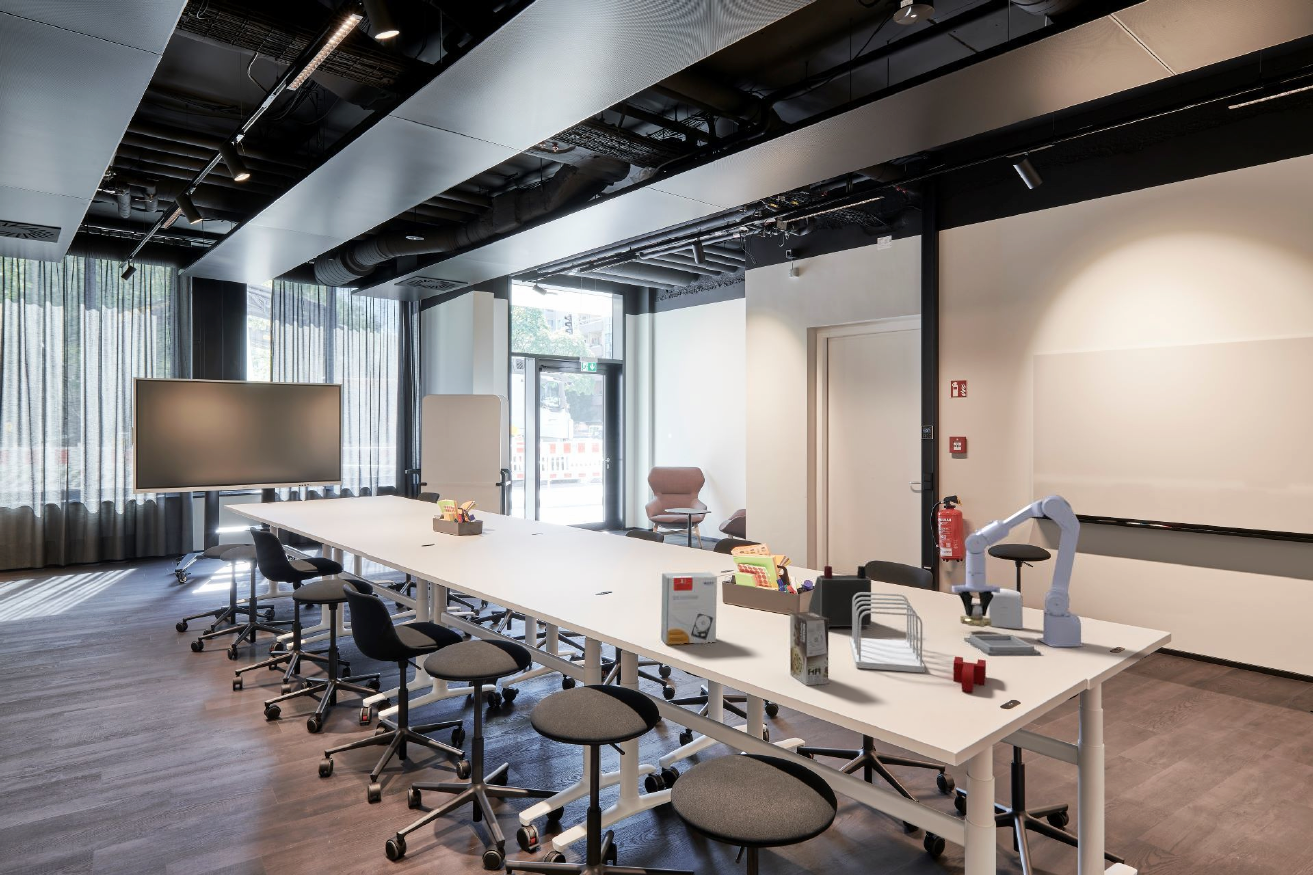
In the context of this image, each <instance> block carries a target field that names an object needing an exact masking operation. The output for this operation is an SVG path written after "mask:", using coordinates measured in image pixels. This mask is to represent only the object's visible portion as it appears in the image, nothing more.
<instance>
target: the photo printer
mask: <svg viewBox="0 0 1313 875" xmlns="http://www.w3.org/2000/svg"><path fill="white" fill-rule="evenodd" d="M992 594H993V598H992V600H991V602H990V604H989V606H988V608H987V618H990V619H991V626H990V627H992V626H994V627H993V628H1003V629H1004V628H1005V629H1016V630H1022V629H1023V628H1024V626H1023V625H1024V620H1023V613H1024V612H1023V609H1024V608H1023V606H1024V605H1023V596H1022V594H1021V592H1019V591H1018V590H1015V589H1009V588H1000V593H996V592H992Z"/></svg>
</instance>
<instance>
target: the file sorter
mask: <svg viewBox="0 0 1313 875" xmlns="http://www.w3.org/2000/svg"><path fill="white" fill-rule="evenodd" d="M861 594H864V595H871V596H885V597H871V598H869V597H861V598H858V599H856V600H855V598H856V596H858V595H861ZM886 596H889V597H886ZM891 596H892V597H891ZM893 597H901V598H893ZM854 600H855V602H854ZM859 600H871V602H868V601H864V602H860V603H858V604H857V605H856V607H855V604H856V603H857V601H859ZM861 604H871V606H864V607H861V608H860V609H859V610H858V611H857V607H858V606H859V605H861ZM872 605H875V606H872ZM877 605H879V606H877ZM880 605H881V606H880ZM882 605H883V606H882ZM884 605H885V606H884ZM886 605H896V606H886ZM897 605H898V606H897ZM899 605H901V606H899ZM862 609H871V611H866V612H864V613H862V614H861V616H860V619H859V626H858V615H859V612H860V611H861V610H862ZM872 609H873V610H872ZM874 609H875V610H874ZM879 609H881V610H906V612H897V611H879ZM877 610H878V611H877ZM868 613H871V614H875V615H876V614H879V615H891V616H892V615H893V616H895V615H896V616H897V615H898V616H906V640H899V639H898V640H897V639H884V638H883V639H882V638H879V639H878V638H869V637H868V638H865V637H862V629H861V619H862V617H863V616H864V615H865V614H868ZM918 621H919V624H918ZM918 625H919V626H918ZM851 627H852V628H851V629H852V630H851V636H850V637H849V645H850V649H851V654H852V657H853V660H854V664H855V668H857V669H868V670H871V669H872V670H885V671H897V672H898V671H899V672H908V673H909V672H911V673H923V674H924V673H926V665H925V664H924V662H923V621H922V618H921V617H920V616H919V615H918V614H917V612H916V610H914V608H913V606H912V605H911V603H910V602H909V599H908V598H907V597H906V596H905V595H904V594H899V593H887V592H886V593H884V592H871V593H867V592H860V593H857V594H855V595H854V597H853V600H852V626H851Z"/></svg>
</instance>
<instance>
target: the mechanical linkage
mask: <svg viewBox="0 0 1313 875" xmlns="http://www.w3.org/2000/svg"><path fill="white" fill-rule="evenodd" d="M986 662H987V661H986V659H985V660H984V659H978V658H977V662H976V663H975V662H967V661H964V657H962V656H955V657H954V660H953V675H952V676H953V681H952V682H954V683H959V684H960V683H961V692H965V693H972V694H973V692H974V688H975V685H977V686H982V687H983V686H984V687H985V686H986V678H987V676H986V675H987V674H986V673H987V667H986V666H987V663H986Z"/></svg>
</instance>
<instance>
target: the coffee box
mask: <svg viewBox="0 0 1313 875" xmlns="http://www.w3.org/2000/svg"><path fill="white" fill-rule="evenodd" d="M789 616H790V617H789V620H790V621H789V623H790V624H789V627H790V628H789V630H790V631H789V633H790V634H789V638H790V639H789V640H790V642H789V644H790V645H789V647H790V648H789V649H790V652H789V653H790V656H789V657H790V667H789V668H790V672H789V673H790V676H791V675H792V676H791V677H793V678H795V679H796V680H798V682H801V683H802V684H803V685H805V686H807V685H808V686H817V684H818V685H827V684H829V629H830V628H829V619H827V618H825V617H823V616H821V615H818V614H816V613H814V612H811V611H809V610H808V611H799V612H790V613H789Z"/></svg>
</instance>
